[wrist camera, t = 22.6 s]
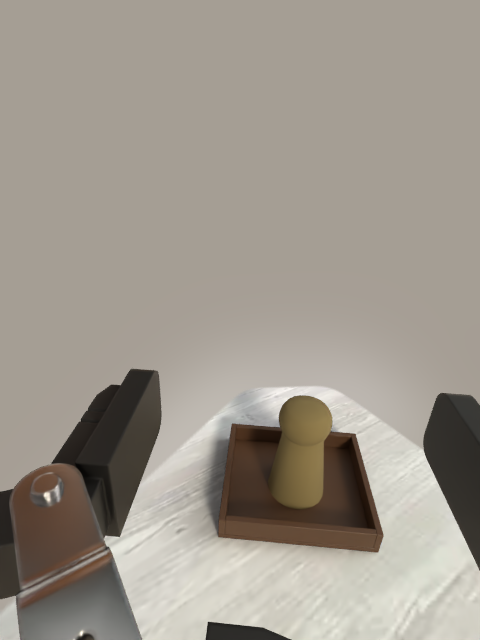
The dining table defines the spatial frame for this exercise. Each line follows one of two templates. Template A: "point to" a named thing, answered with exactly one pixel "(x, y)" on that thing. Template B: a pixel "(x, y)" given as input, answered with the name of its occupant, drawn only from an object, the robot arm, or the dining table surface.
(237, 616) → the dining table surface
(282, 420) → the cork
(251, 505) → the tray
